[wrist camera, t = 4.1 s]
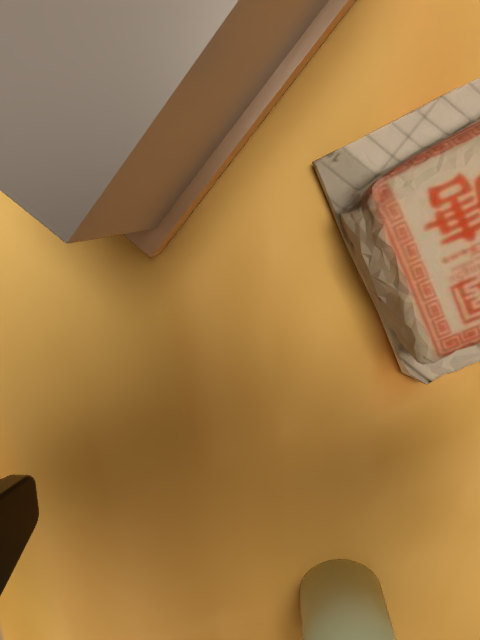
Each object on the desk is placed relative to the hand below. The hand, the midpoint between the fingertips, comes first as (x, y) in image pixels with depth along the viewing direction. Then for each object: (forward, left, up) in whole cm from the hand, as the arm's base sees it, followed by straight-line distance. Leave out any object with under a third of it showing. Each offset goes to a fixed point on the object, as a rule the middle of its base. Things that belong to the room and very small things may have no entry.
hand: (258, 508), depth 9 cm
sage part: (-11, +8, -11) cm, 17 cm away
